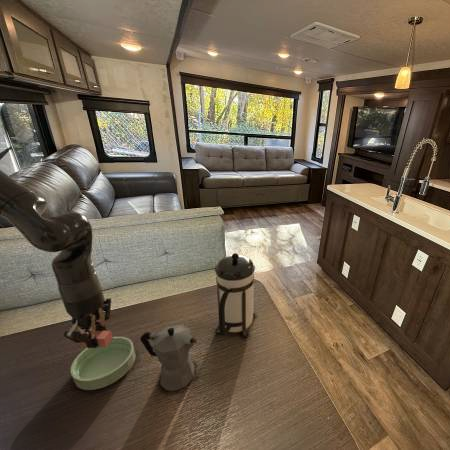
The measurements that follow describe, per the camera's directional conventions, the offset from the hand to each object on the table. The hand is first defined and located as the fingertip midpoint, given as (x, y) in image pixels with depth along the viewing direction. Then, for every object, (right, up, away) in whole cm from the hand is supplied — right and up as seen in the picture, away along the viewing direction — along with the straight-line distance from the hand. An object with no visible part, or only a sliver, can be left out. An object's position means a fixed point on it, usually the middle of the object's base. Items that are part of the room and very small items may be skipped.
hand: (98, 341), depth 68 cm
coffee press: (+32, -5, +22) cm, 40 cm away
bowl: (-1, -10, +4) cm, 10 cm away
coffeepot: (+19, -12, +4) cm, 23 cm away
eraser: (0, 0, 0) cm, 0 cm away
